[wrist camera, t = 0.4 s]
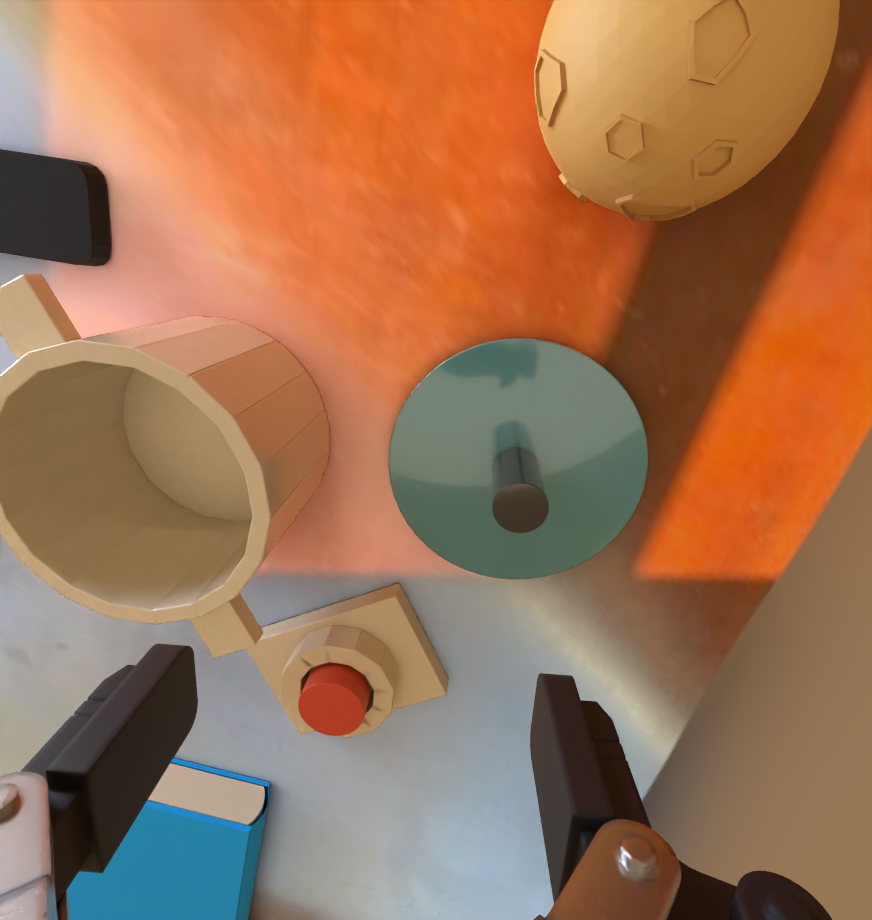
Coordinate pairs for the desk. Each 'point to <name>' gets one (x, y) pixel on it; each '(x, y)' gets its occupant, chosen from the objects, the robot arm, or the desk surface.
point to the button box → (354, 654)
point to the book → (182, 852)
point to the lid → (518, 458)
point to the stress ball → (676, 95)
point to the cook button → (334, 699)
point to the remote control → (53, 209)
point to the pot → (152, 461)
